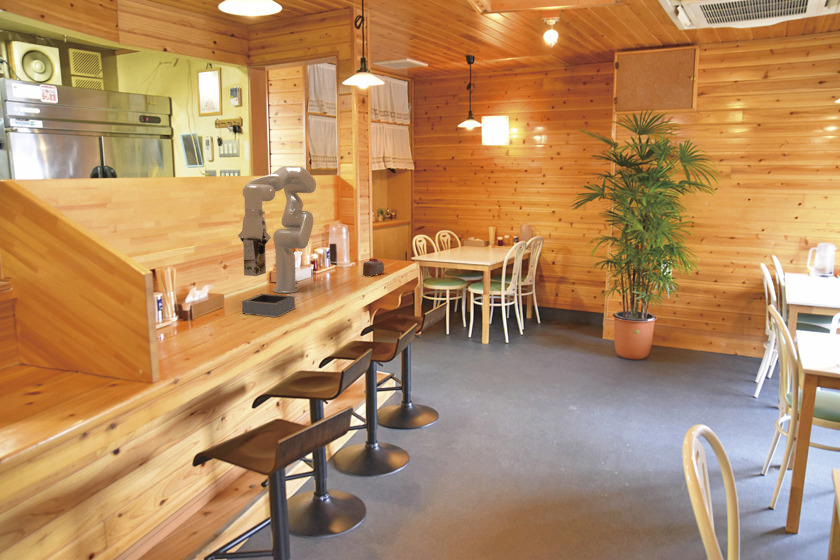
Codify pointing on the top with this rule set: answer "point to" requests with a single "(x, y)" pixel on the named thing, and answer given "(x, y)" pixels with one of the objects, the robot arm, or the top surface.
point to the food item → (373, 267)
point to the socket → (268, 305)
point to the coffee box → (253, 258)
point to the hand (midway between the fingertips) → (254, 253)
